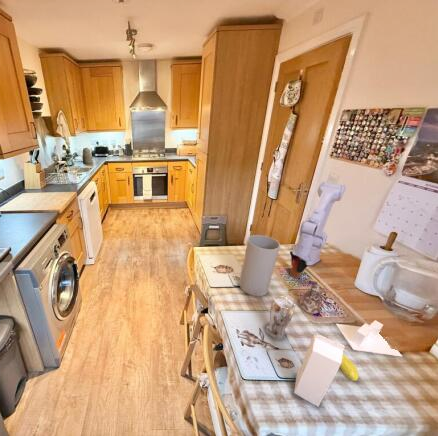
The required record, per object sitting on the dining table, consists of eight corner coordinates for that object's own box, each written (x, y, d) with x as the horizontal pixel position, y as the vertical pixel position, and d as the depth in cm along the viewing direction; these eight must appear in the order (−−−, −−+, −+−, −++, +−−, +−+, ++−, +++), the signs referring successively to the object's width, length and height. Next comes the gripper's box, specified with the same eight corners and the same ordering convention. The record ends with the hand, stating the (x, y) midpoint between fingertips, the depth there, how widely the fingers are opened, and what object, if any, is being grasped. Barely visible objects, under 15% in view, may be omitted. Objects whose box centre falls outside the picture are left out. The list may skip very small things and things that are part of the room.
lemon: (344, 381, 70) (349, 373, 69) (331, 357, 77) (335, 349, 76) (360, 384, 70) (365, 376, 68) (345, 359, 77) (349, 351, 75)
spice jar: (291, 271, 119) (295, 258, 116) (300, 275, 117) (304, 261, 113) (288, 275, 117) (293, 261, 113) (298, 279, 114) (302, 265, 110)
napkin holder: (353, 350, 80) (360, 338, 77) (335, 323, 90) (340, 312, 88) (403, 356, 77) (411, 345, 75) (378, 328, 88) (384, 317, 85)
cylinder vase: (238, 292, 106) (247, 246, 95) (239, 276, 116) (248, 233, 106) (268, 300, 101) (281, 252, 91) (266, 282, 112) (278, 237, 101)
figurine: (299, 309, 96) (307, 287, 91) (298, 298, 102) (306, 277, 97) (320, 316, 93) (329, 293, 88) (317, 304, 99) (326, 282, 94)
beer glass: (283, 327, 88) (293, 297, 82) (287, 342, 82) (298, 311, 76) (263, 322, 90) (272, 293, 84) (265, 337, 85) (274, 306, 78)
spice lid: (289, 263, 115) (290, 259, 114) (296, 260, 117) (297, 256, 116) (299, 269, 111) (301, 265, 110) (306, 266, 113) (307, 262, 112)
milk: (296, 376, 72) (317, 325, 63) (319, 389, 69) (345, 337, 60) (293, 393, 67) (315, 341, 58) (318, 408, 64) (345, 354, 55)
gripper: (288, 237, 116) (281, 260, 122) (303, 253, 103) (295, 277, 109) (302, 238, 116) (295, 260, 121) (320, 253, 103) (311, 278, 108)
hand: (296, 268), depth 115 cm, fingers closed on spice lid, 5 cm apart
